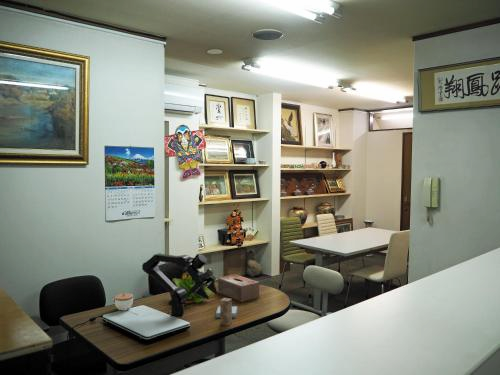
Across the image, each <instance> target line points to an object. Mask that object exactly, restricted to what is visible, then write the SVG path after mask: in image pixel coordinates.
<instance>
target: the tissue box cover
mask: <svg viewBox="0 0 500 375" xmlns="http://www.w3.org/2000/svg"><path fill="white" fill-rule="evenodd" d="M217 292H218V293H219V294H221V295H224V296H225V297H228V298H230V299H235V300H236V301H238V302H247V301H249V300H250V301H251V300H253V299H257V298H260V282H259V281H258V280H254V279H251V278H249V277H244V276H242V275H239V274H235V273H234V274H229V275H226V276H221V277H217ZM246 300H247V301H246Z"/></svg>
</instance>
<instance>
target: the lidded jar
mask: <svg viewBox="0 0 500 375" xmlns="http://www.w3.org/2000/svg"><path fill="white" fill-rule="evenodd" d="M133 302H134V295H133V294H132V293H125V292H123V293H120V294H116V295H114V305H115V307H116V308H117V309H118V310H119V311H120V310H124V309H128V308H129V309H130V308H131V307H132V306H133ZM129 309H128V310H129Z"/></svg>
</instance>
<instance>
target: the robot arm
mask: <svg viewBox="0 0 500 375" xmlns="http://www.w3.org/2000/svg"><path fill="white" fill-rule="evenodd" d="M160 262H162V263H167V264H169V263H170V264H174V265H176V266H177V267H180V268H183V273H182V275H183V274H184V273H186V274H187V273H188V274H189V275H188V276H190V277H191V278H192V280H191V281H194V282H195V283H196V284H194V286H193V287H192V288H191V289H190V291H191V293H192V294H193V293H194V294H197V295H199V296H201V297H204V298H205V300H209V299H210V296H209V297H208V295H207V294H206V292H205V290H204V285H205V286H206V289H209V290H211V292H212V293H213V294H214V295H218V293H219V292H218V289H217V288H216V285H215V283H216V282H215V281H216V280H217V279H216V277H215V275H214V270H212V268H208V269H206V272H203V271H200V270H201V269H202V268H203V267H204V266H205V264H207V263H208V259H207V257H206V256H205V255H203V254H201V253H197V254H196V255H195V256H194V257H191V256H190V255H189V254H184V255H183V254H182V255H172V254H166V253H160V252H159V253H154V254H153V255H152V256H151V257H150V258H149V259H148V260H147V261H145V262H143V263H142V265H141V266H142V268H141V269H142V271H143V272H144V273H146V274H147V275H149V276H152V277H153V278H154V279H155V280H156V281H157V282H158V283H159V284H160V285H161V286H162V287H164V289H165V290H166V291H167V292H168V293H169V295H170V298H171V299H170V300H169V301H168V305H169V306H170V309H171V314H170V317H171V316H175V317H178V318H179V317H183V316H184V314H185V305H184V302H185V300H186V299H187V293H186V290H184V289H183V288H182V287H181V286H180V287H177V286H176V284H175V283H174V282H173V281H171V280H170V279H169V278H168V277H167V276H166V275H165V274H164V273H163V272H162V271H161V269H160V266H159V264H160ZM184 267H185V268H184Z"/></svg>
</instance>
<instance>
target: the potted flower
mask: <svg viewBox="0 0 500 375" xmlns="http://www.w3.org/2000/svg"><path fill="white" fill-rule="evenodd" d="M191 280H192V278H191V277H190V276H189V274H188V273H184V274H183V273H182V276H181V278H176V277H175V278H172V281H171V282H172V283H174V285H175V286H176V287H180V286H181V287H182V288H183V289H184V290H186V293H187V299H186V300H185V302H184V303H185V304H190V303H191V304H192V303H197V304H198V303H199V304H200V302H202V301H205V300H206V298H204V297H202V296H199V295H197V294H194V293H193V294H192V293H191V291H190V289H191V288H192V287H193V286H194V284H196V283H195V282H194V281H191ZM204 291H205V292H206V294H207V295H208V297H209V298H210V296H211V294H212V293H213V292H212V291H211V290H209V289H208V288H207V286H205V285H204ZM184 303H183V304H184Z"/></svg>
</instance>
